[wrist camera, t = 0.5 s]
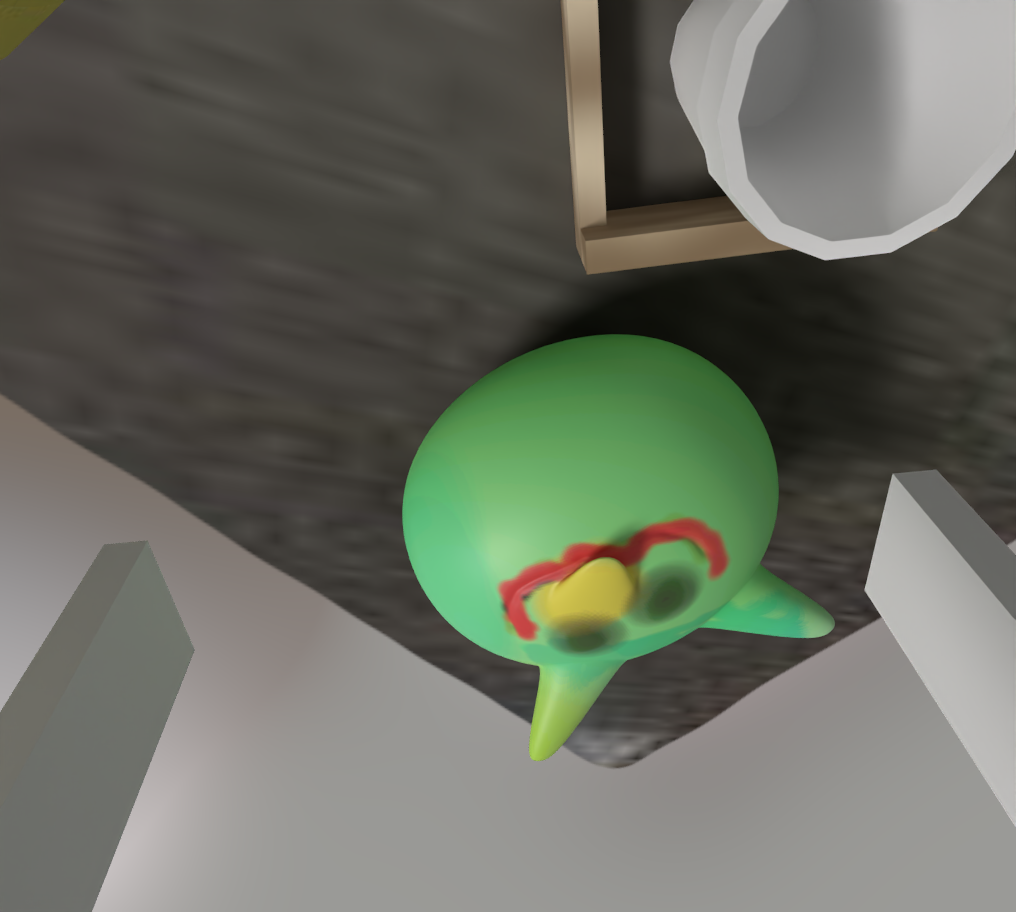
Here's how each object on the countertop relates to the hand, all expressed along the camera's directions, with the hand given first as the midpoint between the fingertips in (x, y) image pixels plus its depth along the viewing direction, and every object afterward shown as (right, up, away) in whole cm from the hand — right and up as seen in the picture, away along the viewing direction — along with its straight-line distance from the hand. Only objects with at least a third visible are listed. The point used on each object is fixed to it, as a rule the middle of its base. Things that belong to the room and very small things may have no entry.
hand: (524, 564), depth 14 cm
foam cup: (+10, +19, +19) cm, 29 cm away
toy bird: (+3, +3, +29) cm, 30 cm away
